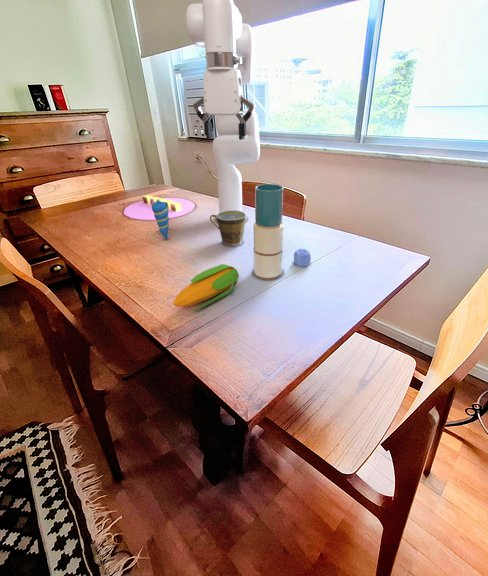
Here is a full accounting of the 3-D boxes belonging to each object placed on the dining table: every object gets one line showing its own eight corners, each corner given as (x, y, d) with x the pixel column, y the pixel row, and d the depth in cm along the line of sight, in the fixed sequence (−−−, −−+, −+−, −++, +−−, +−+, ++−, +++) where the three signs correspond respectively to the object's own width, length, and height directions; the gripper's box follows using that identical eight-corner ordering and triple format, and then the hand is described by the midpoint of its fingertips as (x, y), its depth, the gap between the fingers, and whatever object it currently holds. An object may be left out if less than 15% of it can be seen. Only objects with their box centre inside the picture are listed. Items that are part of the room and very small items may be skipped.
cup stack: (257, 264, 91) (257, 215, 83) (283, 267, 89) (286, 218, 81) (250, 277, 84) (249, 226, 76) (278, 281, 83) (281, 229, 74)
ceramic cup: (250, 239, 107) (250, 211, 102) (240, 250, 99) (239, 221, 94) (217, 234, 111) (215, 208, 105) (205, 245, 103) (202, 217, 98)
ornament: (169, 242, 105) (161, 200, 97) (155, 241, 106) (146, 199, 98) (175, 237, 109) (168, 196, 101) (162, 236, 110) (154, 195, 102)
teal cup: (258, 216, 82) (258, 183, 77) (283, 218, 80) (285, 184, 76) (252, 225, 76) (252, 190, 71) (279, 228, 75) (280, 191, 70)
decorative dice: (305, 259, 93) (306, 248, 91) (309, 265, 90) (311, 254, 88) (293, 260, 93) (294, 249, 91) (297, 267, 90) (298, 255, 87)
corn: (245, 262, 76) (181, 295, 63) (247, 287, 80) (187, 323, 67) (225, 255, 80) (161, 285, 68) (228, 280, 84) (168, 312, 71)
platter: (164, 194, 156) (162, 188, 154) (209, 205, 141) (208, 198, 139) (108, 211, 134) (106, 203, 132) (155, 225, 119) (153, 217, 117)
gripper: (258, 63, 76) (258, 138, 85) (195, 65, 80) (202, 136, 89) (250, 61, 70) (251, 141, 79) (183, 63, 74) (191, 139, 83)
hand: (225, 138), depth 84 cm, fingers open, 9 cm apart
